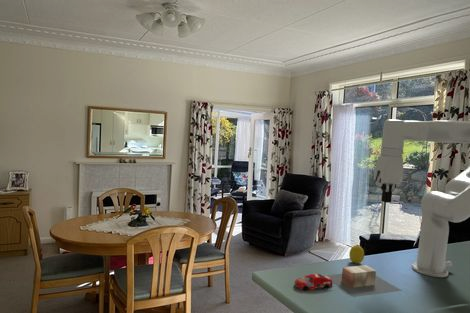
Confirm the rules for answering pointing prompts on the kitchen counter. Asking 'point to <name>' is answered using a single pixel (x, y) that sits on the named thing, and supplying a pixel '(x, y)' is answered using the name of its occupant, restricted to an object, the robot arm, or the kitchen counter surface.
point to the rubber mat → (379, 286)
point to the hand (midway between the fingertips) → (386, 201)
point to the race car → (313, 282)
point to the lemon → (356, 254)
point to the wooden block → (358, 276)
